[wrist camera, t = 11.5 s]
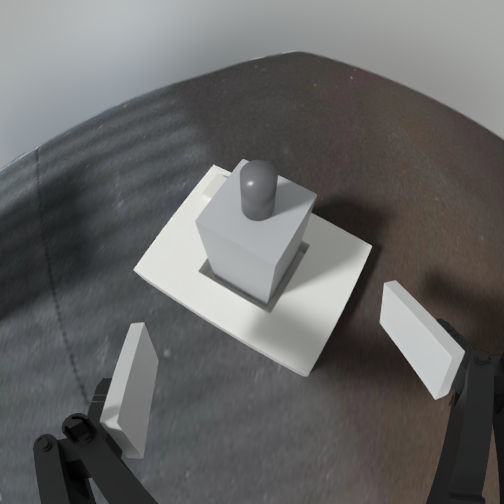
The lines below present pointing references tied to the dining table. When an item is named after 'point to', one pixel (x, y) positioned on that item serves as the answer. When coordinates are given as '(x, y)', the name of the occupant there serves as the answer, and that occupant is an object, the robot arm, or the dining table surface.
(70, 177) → the dining table surface
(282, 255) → the plug
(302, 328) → the socket plate
